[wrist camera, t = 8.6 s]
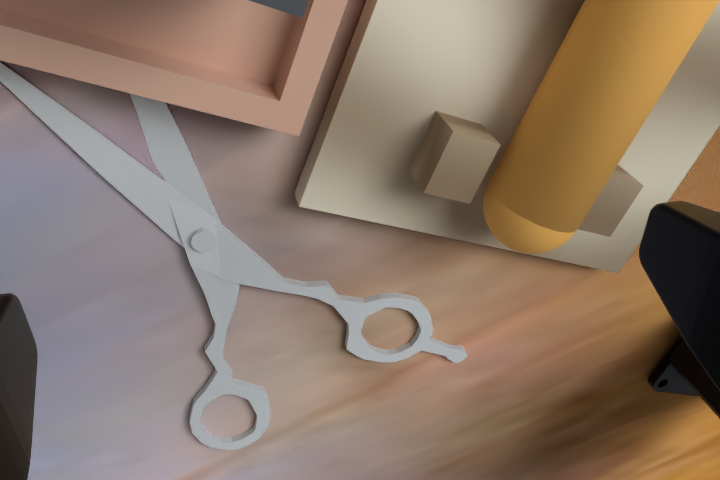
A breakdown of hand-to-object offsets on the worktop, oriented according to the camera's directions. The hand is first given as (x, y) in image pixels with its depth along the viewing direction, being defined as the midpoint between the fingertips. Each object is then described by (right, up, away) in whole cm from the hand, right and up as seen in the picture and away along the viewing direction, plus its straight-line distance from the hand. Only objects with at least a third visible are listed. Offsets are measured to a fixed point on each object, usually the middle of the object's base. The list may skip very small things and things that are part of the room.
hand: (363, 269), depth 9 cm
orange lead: (+7, +7, +9) cm, 14 cm away
